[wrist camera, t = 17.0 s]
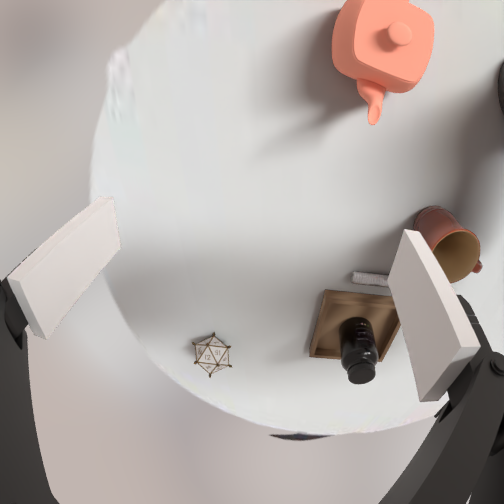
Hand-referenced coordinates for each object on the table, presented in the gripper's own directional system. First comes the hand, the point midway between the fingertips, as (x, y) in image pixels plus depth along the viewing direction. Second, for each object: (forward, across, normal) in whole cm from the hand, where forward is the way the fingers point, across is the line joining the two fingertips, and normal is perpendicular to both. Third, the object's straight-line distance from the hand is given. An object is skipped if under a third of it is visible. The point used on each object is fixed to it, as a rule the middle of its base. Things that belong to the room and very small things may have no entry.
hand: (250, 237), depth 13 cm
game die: (+32, -10, -45) cm, 56 cm away
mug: (+32, +27, -12) cm, 43 cm away
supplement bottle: (+31, +18, -35) cm, 50 cm away
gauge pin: (+32, +20, -23) cm, 44 cm away
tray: (+32, +18, -35) cm, 51 cm away
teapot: (+32, +11, +13) cm, 36 cm away
